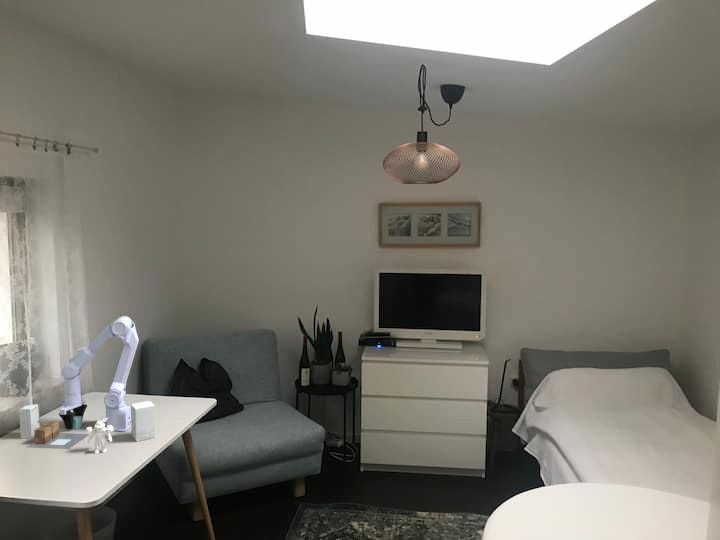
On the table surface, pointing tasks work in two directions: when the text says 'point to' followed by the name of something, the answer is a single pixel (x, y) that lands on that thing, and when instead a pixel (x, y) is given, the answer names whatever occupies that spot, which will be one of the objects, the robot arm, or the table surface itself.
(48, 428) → the walnut blocks
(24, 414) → the skincare box
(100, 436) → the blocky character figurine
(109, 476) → the table surface
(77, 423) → the teal block
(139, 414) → the supplement box
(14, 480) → the table surface
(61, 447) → the baseplate
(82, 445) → the table surface
